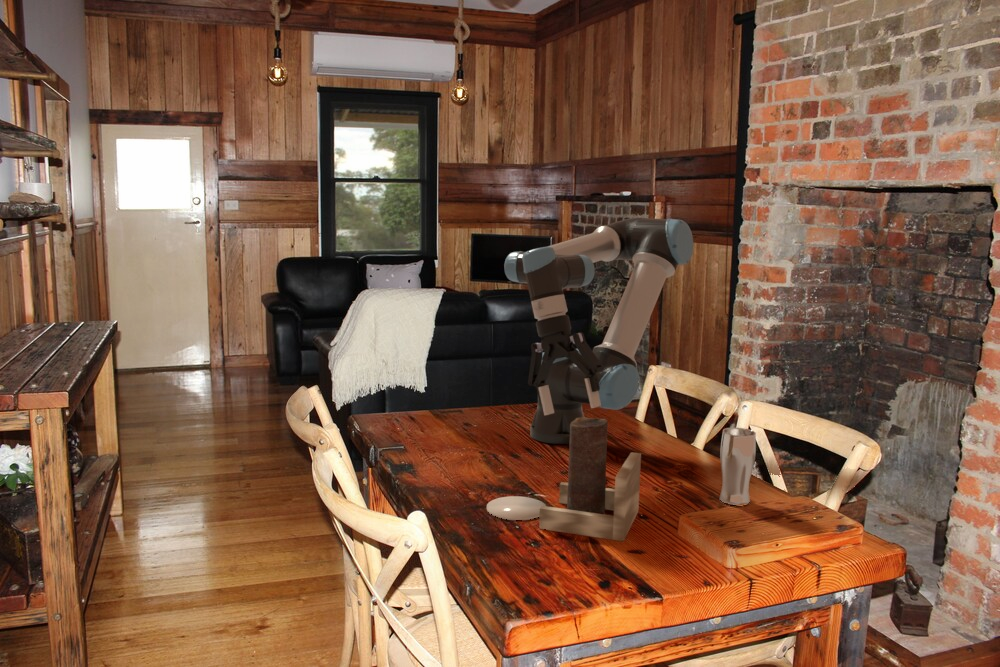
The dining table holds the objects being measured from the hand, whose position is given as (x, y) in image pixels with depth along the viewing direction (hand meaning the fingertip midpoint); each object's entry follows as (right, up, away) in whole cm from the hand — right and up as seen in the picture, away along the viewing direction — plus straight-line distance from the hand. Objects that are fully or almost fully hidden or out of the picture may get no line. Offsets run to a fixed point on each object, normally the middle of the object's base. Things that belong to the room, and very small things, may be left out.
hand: (572, 410), depth 183 cm
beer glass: (+33, -18, -11) cm, 39 cm away
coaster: (-13, -18, -17) cm, 28 cm away
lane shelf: (+1, -19, -22) cm, 29 cm away
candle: (+1, -19, -22) cm, 29 cm away
